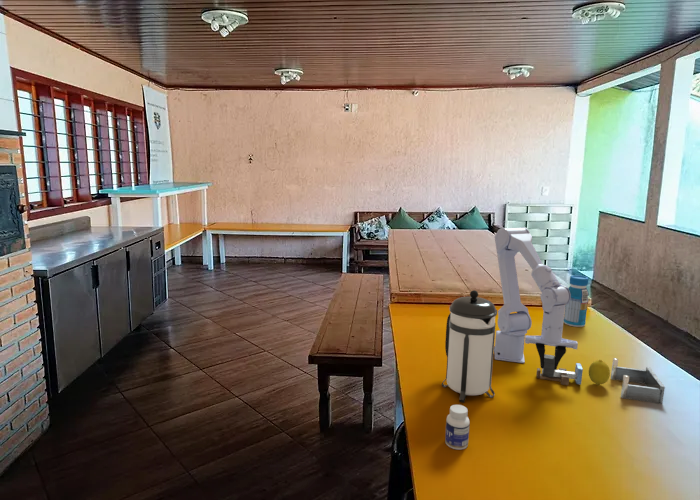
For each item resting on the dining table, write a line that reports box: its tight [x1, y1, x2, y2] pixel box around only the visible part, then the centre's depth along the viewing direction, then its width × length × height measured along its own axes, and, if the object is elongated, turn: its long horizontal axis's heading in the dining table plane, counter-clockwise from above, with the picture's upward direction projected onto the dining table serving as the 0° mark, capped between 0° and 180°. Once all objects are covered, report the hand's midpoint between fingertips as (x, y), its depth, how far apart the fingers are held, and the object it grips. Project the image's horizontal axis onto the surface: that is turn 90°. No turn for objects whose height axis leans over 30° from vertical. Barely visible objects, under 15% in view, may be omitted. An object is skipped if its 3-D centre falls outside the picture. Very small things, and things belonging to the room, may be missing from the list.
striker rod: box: [541, 353, 584, 386], centre depth 144 cm, size 11×4×7 cm, turn 73°
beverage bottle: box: [563, 274, 590, 328], centre depth 194 cm, size 8×8×20 cm
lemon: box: [588, 359, 611, 386], centre depth 141 cm, size 6×6×8 cm
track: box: [536, 367, 570, 386], centre depth 145 cm, size 9×6×2 cm
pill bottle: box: [444, 404, 470, 450], centre depth 110 cm, size 5×5×9 cm
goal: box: [610, 357, 666, 404], centre depth 138 cm, size 10×14×6 cm
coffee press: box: [441, 289, 498, 403], centre depth 134 cm, size 17×16×30 cm
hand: (548, 367), depth 145 cm, fingers closed on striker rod, 3 cm apart
